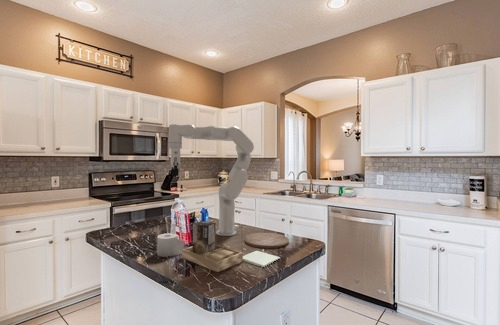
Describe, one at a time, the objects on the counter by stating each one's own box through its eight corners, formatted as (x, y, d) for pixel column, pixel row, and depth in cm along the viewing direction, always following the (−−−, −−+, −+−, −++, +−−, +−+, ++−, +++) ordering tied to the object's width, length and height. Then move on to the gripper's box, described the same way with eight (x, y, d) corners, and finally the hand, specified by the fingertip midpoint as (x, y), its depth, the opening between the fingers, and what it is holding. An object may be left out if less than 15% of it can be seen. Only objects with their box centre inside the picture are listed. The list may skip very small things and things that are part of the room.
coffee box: (215, 256, 130) (216, 222, 130) (208, 260, 124) (208, 225, 124) (200, 253, 134) (200, 220, 133) (192, 257, 128) (192, 223, 128)
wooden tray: (207, 249, 139) (207, 241, 139) (242, 261, 124) (242, 252, 124) (181, 257, 127) (182, 249, 127) (217, 272, 112) (217, 262, 112)
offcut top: (223, 254, 127) (223, 249, 127) (234, 257, 123) (234, 252, 123) (209, 260, 120) (210, 254, 119) (220, 263, 116) (220, 257, 116)
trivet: (295, 240, 158) (295, 237, 158) (275, 252, 137) (275, 248, 137) (259, 233, 172) (259, 230, 172) (236, 243, 151) (236, 239, 151)
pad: (256, 252, 136) (256, 250, 136) (280, 259, 127) (280, 257, 127) (239, 259, 126) (239, 257, 126) (263, 267, 117) (263, 265, 117)
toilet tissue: (187, 253, 133) (187, 236, 133) (159, 258, 126) (159, 239, 126) (181, 248, 141) (181, 231, 141) (155, 252, 134) (155, 234, 134)
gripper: (183, 145, 150) (183, 176, 150) (180, 146, 166) (179, 174, 167) (169, 145, 148) (169, 176, 148) (167, 146, 164) (167, 174, 164)
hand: (174, 175), depth 157 cm, fingers open, 9 cm apart
